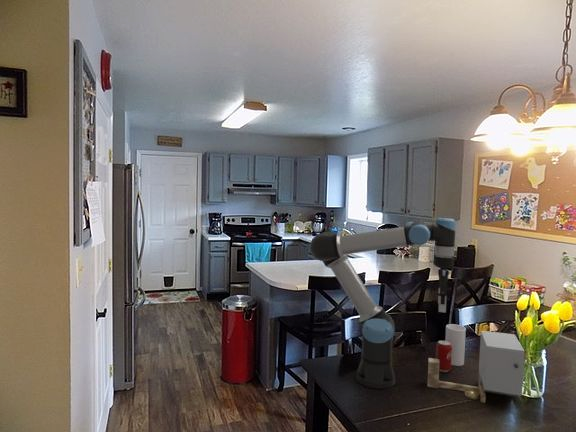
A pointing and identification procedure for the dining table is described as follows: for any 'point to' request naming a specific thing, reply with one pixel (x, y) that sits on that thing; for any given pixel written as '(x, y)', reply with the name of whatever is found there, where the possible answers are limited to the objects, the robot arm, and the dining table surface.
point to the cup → (456, 343)
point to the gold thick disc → (472, 394)
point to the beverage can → (444, 355)
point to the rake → (435, 383)
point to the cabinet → (501, 363)
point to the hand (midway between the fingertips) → (441, 307)
